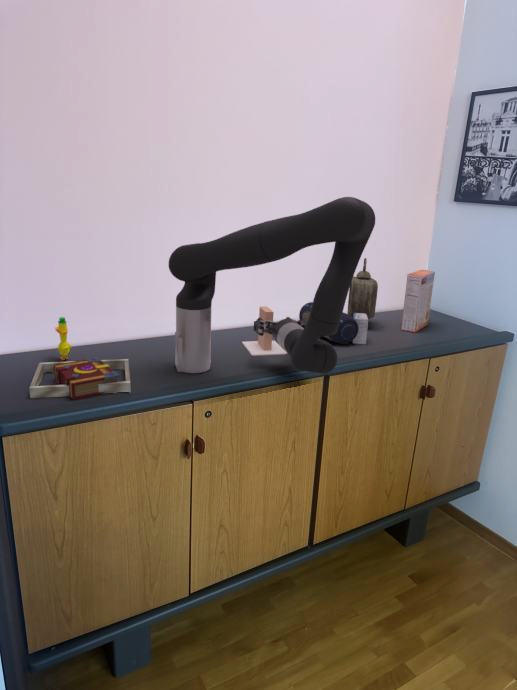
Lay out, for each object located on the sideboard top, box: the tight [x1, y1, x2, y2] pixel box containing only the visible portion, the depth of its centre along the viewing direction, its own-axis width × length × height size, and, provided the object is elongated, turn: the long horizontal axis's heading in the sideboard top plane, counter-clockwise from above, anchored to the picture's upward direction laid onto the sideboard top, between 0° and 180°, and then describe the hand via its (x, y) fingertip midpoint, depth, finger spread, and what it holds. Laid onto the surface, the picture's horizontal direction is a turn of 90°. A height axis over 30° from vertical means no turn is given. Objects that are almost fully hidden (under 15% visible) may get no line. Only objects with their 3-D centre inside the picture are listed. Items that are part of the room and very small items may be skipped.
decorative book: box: [54, 356, 121, 400], centre depth 123 cm, size 11×16×5 cm
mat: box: [241, 340, 289, 357], centre depth 157 cm, size 11×13×1 cm
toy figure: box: [54, 316, 72, 361], centre depth 138 cm, size 7×4×12 cm, turn 42°
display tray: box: [28, 358, 132, 399], centre depth 125 cm, size 22×17×2 cm
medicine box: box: [351, 313, 369, 345], centre depth 169 cm, size 8×4×9 cm, turn 173°
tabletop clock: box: [347, 257, 379, 320], centre depth 185 cm, size 14×9×25 cm, turn 172°
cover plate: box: [257, 305, 274, 350], centre depth 156 cm, size 2×7×12 cm, turn 15°
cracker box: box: [400, 269, 436, 333], centre depth 186 cm, size 14×6×21 cm, turn 144°
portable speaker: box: [298, 301, 359, 345], centre depth 172 cm, size 25×10×10 cm, turn 28°
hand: (273, 320), depth 147 cm, fingers open, 8 cm apart
